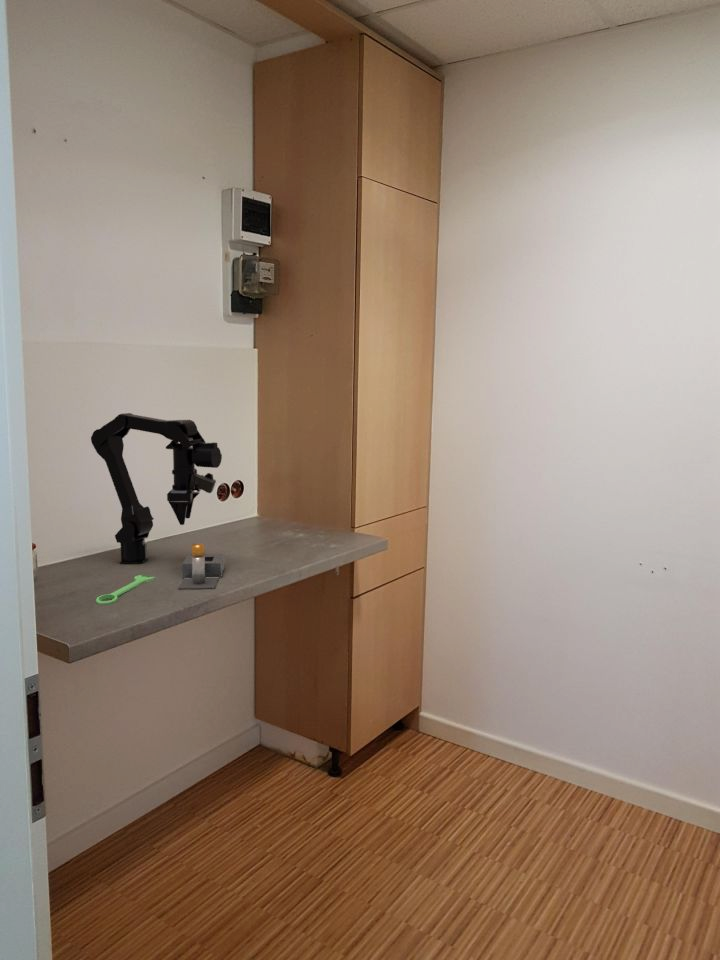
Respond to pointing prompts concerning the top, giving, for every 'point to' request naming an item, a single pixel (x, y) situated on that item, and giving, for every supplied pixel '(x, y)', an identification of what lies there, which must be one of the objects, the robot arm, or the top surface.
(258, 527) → the top surface
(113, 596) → the wrench
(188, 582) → the rubber mat
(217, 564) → the block
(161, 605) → the top surface
